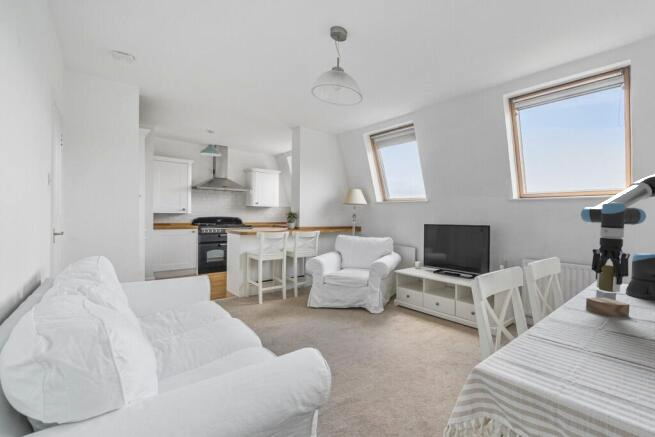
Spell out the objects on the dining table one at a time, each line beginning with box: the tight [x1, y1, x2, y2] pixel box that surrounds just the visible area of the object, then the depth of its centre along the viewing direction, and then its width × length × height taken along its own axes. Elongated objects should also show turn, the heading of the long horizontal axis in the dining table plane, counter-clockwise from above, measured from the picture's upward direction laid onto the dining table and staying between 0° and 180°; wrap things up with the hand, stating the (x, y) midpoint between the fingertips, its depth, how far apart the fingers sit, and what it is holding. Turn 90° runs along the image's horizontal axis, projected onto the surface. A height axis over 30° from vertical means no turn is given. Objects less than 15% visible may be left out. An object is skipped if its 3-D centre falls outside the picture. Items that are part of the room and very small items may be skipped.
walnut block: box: [585, 297, 630, 318], centre depth 134 cm, size 10×10×5 cm
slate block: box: [595, 289, 617, 301], centre depth 147 cm, size 5×5×6 cm
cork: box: [598, 264, 616, 292], centre depth 133 cm, size 6×6×11 cm
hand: (607, 289), depth 134 cm, fingers closed on cork, 6 cm apart
